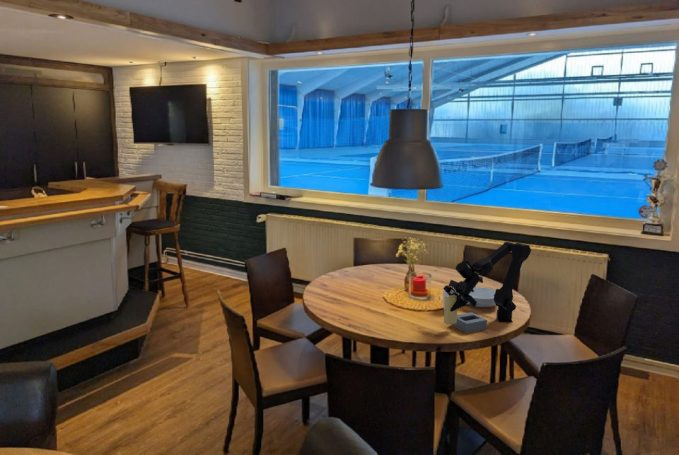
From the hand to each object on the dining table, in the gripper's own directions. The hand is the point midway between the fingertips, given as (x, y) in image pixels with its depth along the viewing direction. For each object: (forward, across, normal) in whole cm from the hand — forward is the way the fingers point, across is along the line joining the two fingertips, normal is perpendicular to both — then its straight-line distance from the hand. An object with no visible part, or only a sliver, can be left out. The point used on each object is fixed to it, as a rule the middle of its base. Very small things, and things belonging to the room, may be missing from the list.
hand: (448, 309), depth 239 cm
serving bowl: (-20, -23, +35) cm, 46 cm away
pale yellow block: (+4, 0, +6) cm, 7 cm away
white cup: (-6, -24, +21) cm, 32 cm away
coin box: (-1, 0, +16) cm, 16 cm away
